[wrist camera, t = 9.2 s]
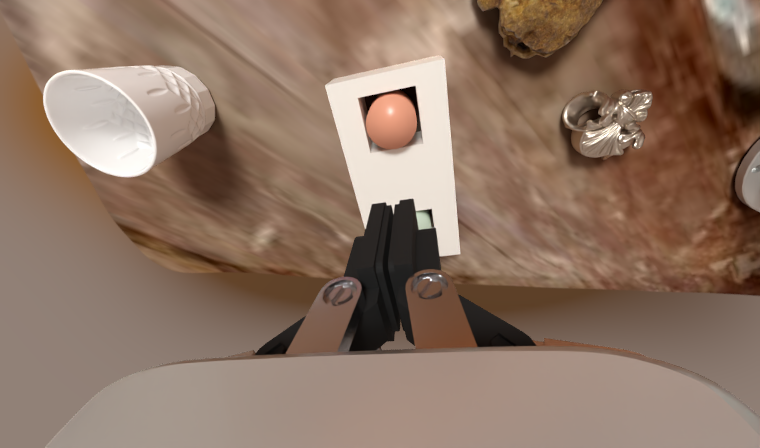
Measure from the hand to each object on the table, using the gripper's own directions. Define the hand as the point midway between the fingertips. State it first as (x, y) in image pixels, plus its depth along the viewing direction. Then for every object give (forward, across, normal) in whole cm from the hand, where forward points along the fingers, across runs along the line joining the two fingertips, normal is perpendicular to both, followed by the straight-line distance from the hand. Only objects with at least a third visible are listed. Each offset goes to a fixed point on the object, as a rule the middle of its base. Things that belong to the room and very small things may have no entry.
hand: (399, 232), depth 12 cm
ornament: (+22, -18, +4) cm, 29 cm away
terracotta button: (+20, +1, 0) cm, 20 cm away
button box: (+21, +2, +6) cm, 22 cm away
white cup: (+21, +23, -6) cm, 31 cm away
